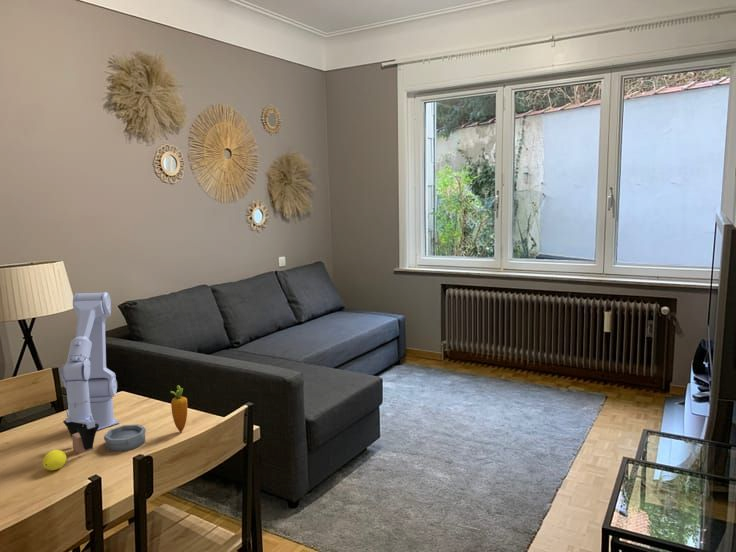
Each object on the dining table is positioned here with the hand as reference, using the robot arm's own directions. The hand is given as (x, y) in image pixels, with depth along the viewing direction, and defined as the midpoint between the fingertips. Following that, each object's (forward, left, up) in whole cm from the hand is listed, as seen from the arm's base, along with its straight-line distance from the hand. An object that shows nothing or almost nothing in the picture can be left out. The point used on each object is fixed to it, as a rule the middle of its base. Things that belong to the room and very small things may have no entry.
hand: (82, 444), depth 162 cm
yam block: (0, 0, -2) cm, 2 cm away
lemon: (+6, -10, -2) cm, 12 cm away
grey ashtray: (+6, +10, -2) cm, 12 cm away
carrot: (+12, +25, -2) cm, 28 cm away
